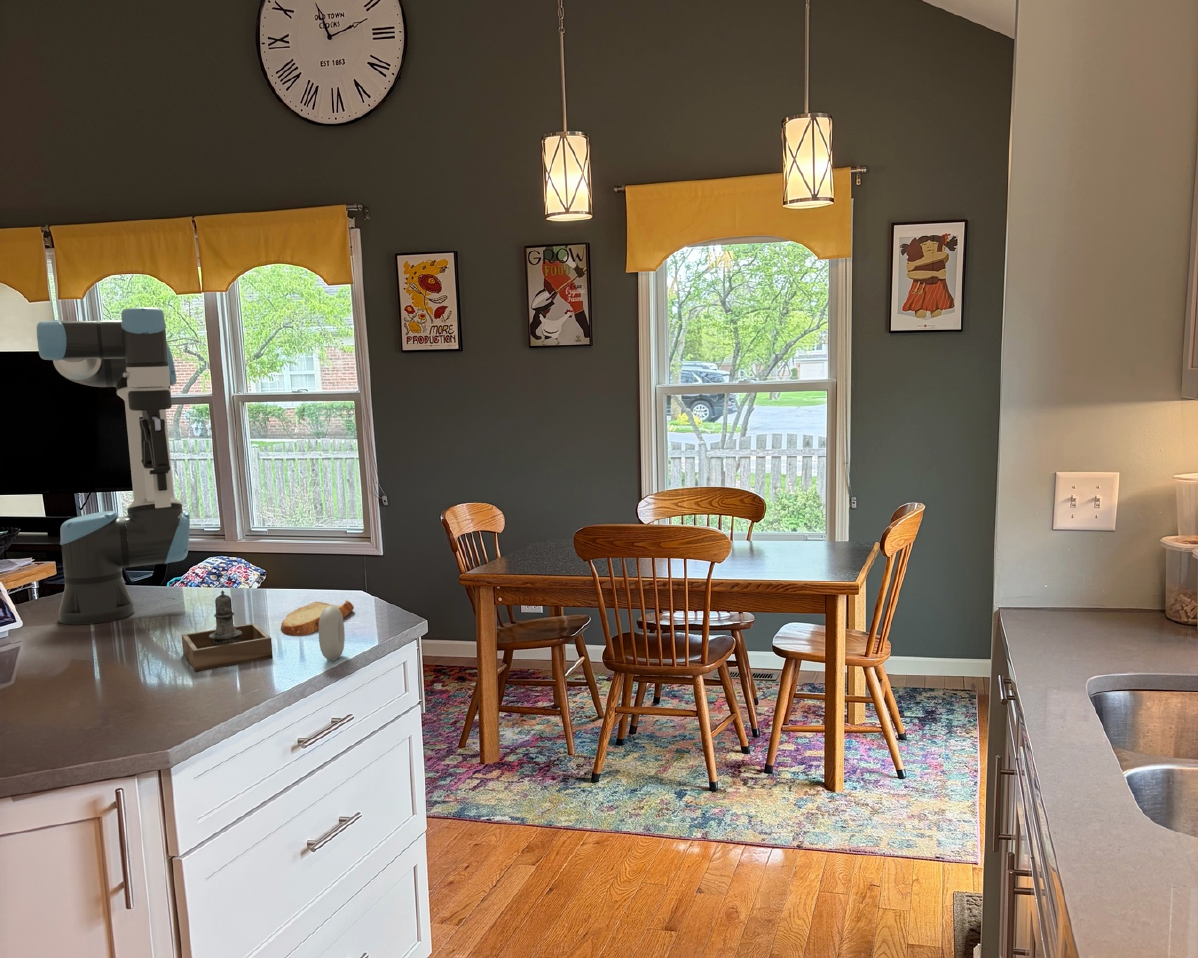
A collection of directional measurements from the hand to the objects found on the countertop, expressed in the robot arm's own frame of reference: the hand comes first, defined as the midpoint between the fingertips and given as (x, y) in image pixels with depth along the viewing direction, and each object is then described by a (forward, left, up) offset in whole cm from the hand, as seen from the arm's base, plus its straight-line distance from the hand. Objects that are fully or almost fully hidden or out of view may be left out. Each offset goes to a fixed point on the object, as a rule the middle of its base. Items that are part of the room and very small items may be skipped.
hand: (158, 503), depth 189 cm
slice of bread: (0, +30, -29) cm, 42 cm away
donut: (+30, +24, -29) cm, 48 cm away
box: (+15, +8, -29) cm, 33 cm away
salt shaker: (+15, +8, -28) cm, 33 cm away
